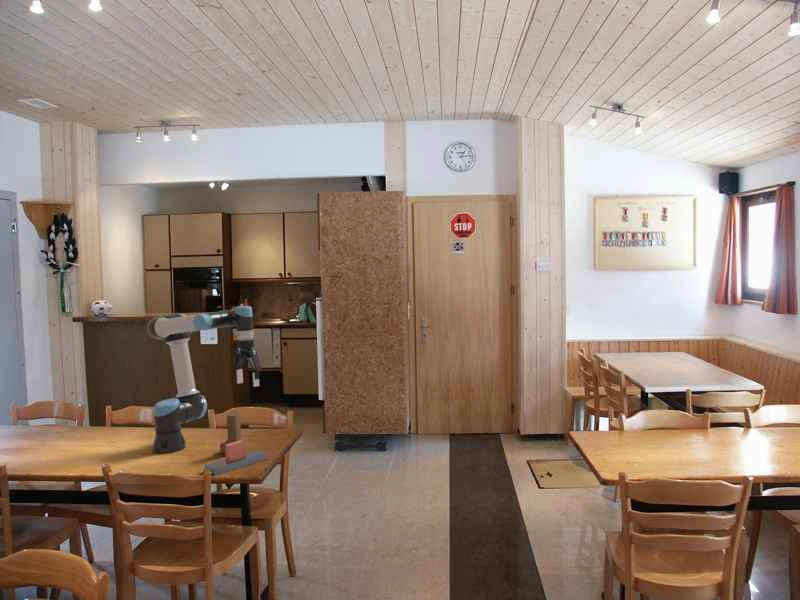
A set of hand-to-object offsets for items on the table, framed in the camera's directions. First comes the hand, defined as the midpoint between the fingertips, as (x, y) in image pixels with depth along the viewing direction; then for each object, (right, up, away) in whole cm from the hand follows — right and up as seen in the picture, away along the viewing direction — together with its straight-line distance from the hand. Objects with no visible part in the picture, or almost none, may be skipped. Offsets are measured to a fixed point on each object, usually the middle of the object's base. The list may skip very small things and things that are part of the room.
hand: (248, 384), depth 287 cm
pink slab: (-1, -33, -18) cm, 37 cm away
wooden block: (-8, -32, +2) cm, 33 cm away
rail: (-1, -33, -18) cm, 37 cm away
